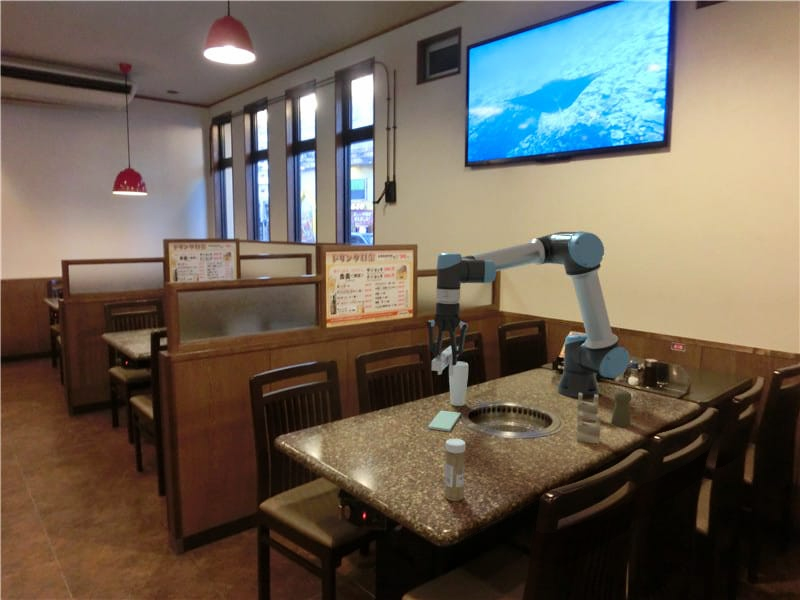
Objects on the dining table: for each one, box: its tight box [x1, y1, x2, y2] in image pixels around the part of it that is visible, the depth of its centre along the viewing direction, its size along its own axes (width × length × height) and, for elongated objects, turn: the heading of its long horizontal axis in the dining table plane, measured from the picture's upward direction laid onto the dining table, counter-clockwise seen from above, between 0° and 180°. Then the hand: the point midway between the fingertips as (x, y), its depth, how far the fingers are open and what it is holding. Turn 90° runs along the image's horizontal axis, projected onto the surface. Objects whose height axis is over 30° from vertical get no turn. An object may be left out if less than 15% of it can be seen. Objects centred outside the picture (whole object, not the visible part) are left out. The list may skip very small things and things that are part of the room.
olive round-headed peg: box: [610, 390, 632, 428], centre depth 173 cm, size 6×6×11 cm
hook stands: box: [576, 393, 602, 445], centre depth 168 cm, size 24×6×8 cm, turn 161°
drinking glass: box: [448, 361, 469, 407], centre depth 190 cm, size 7×7×15 cm
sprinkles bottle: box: [444, 438, 466, 502], centre depth 123 cm, size 5×5×14 cm
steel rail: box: [431, 345, 459, 372], centre depth 171 cm, size 24×3×3 cm, turn 161°
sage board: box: [427, 410, 462, 433], centre depth 173 cm, size 16×7×1 cm, turn 161°
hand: (445, 374), depth 171 cm, fingers closed on steel rail, 3 cm apart
